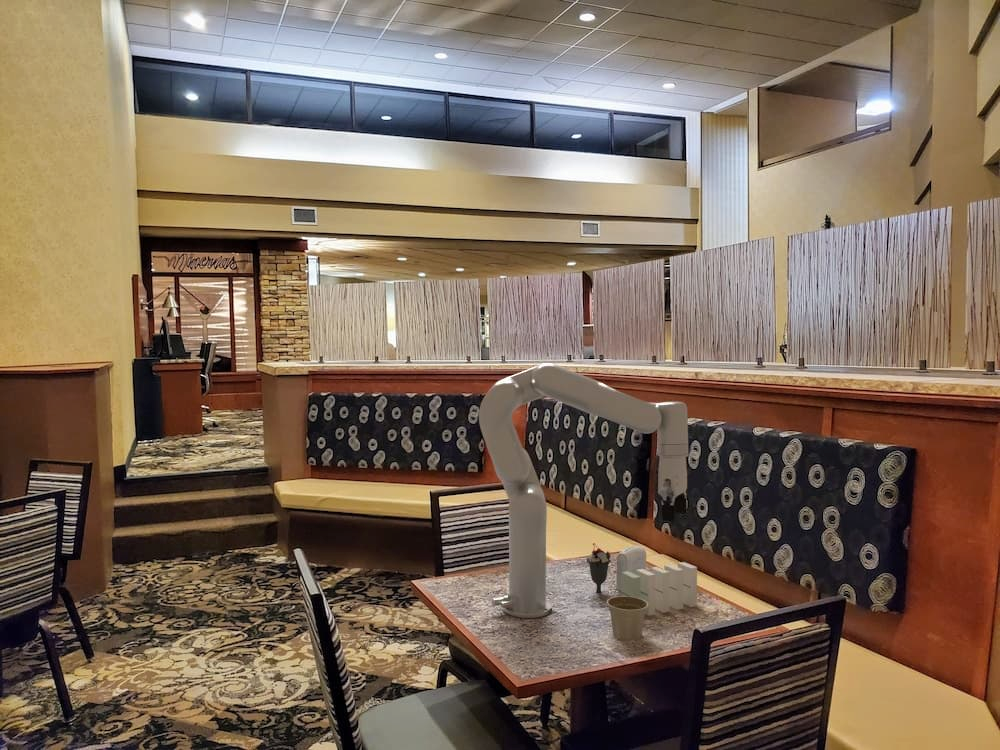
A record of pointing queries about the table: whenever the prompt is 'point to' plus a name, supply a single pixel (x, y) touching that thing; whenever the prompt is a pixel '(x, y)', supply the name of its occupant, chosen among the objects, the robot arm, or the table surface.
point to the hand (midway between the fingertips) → (674, 516)
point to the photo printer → (630, 562)
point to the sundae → (599, 567)
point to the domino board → (672, 611)
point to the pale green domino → (630, 584)
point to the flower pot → (627, 616)
